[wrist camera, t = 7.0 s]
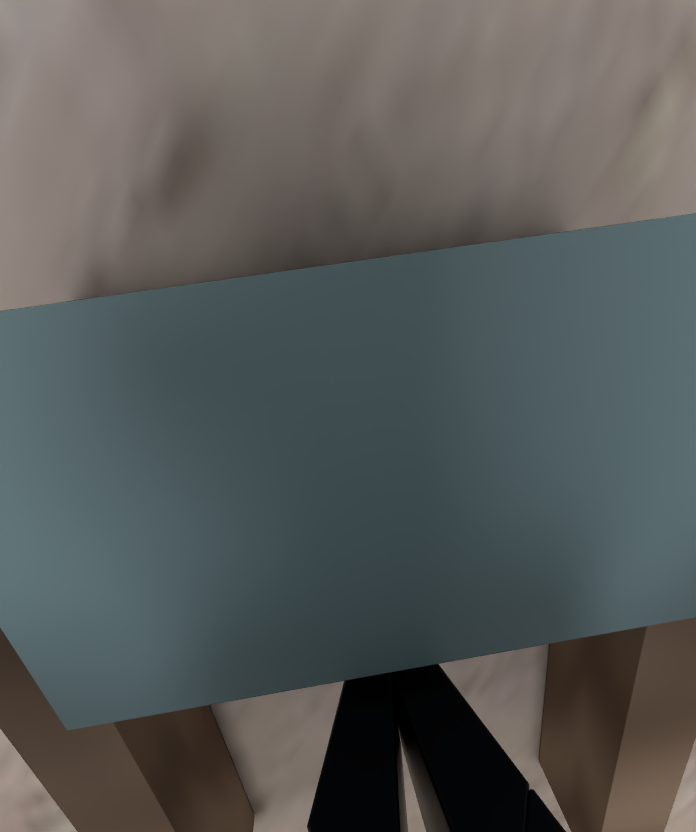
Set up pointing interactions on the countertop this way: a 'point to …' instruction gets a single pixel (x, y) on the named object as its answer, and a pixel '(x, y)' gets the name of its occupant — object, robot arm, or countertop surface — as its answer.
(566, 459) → the slate-blue block
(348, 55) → the countertop surface
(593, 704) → the walnut chute
